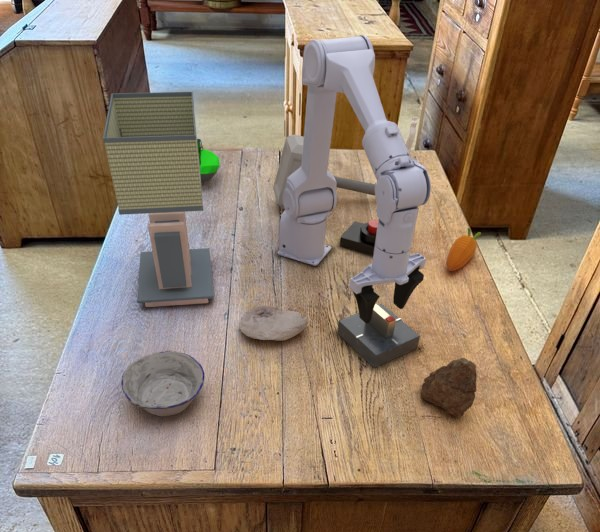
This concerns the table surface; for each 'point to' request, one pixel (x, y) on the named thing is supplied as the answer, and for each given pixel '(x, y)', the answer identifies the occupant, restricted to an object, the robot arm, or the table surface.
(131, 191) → the desk lamp
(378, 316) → the silver block
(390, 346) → the panel
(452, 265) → the carrot
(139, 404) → the bowl
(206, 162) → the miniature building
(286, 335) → the fossil
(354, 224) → the button box
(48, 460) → the table surface
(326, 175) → the robot arm
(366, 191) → the hammer
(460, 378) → the rock
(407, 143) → the decorative finial
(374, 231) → the red button
